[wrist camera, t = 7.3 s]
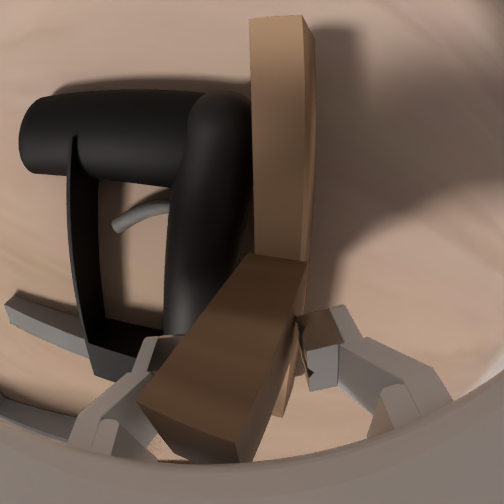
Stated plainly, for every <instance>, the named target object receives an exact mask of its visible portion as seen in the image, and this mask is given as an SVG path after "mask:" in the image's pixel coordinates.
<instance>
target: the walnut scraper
mask: <svg viewBox="0 0 504 504" xmlns="http://www.w3.org/2000/svg"><path fill="white" fill-rule="evenodd" d="M249 31H250V68H251V106H252V147H253V189H254V235H255V254H251V253H247V255H246V256H245V257H244V259H243V260H242V261H241V263H240V264H239V265H238V266H237V268H236V269H235V270H234V272H233V273H232V274H231V276H230V277H229V278H228V279H227V281H226V282H225V283H224V285H223V286H222V287H221V289H220V290H219V291H218V293H217V294H216V295H215V296H214V298H213V299H212V300H211V302H210V303H209V304H208V306H207V307H206V308H205V310H204V311H203V312H202V314H201V315H200V316H199V317H198V319H197V320H196V321H195V323H194V324H193V325H192V327H191V328H190V329H189V331H188V332H187V333H186V334H185V336H184V337H183V338H182V340H181V341H180V342H179V344H178V345H177V346H176V348H175V349H174V350H173V352H172V353H171V354H170V355H169V357H168V358H167V359H166V361H165V362H164V363H163V365H162V366H161V367H160V369H159V370H158V371H157V373H156V374H155V375H154V377H153V378H152V379H151V380H150V382H149V383H148V384H147V386H146V387H145V388H144V390H143V391H142V392H141V394H140V395H139V396H138V398H137V399H136V400H135V401H136V402H137V404H138V405H139V407H140V408H141V410H142V411H143V413H144V414H145V416H146V417H147V418H148V420H149V421H150V423H151V424H152V425H153V427H154V428H155V429H156V431H157V432H158V433H159V435H160V436H161V437H162V439H163V440H164V441H165V442H166V444H167V445H168V446H169V447H170V449H171V450H172V451H173V452H174V453H175V454H177V455H179V456H181V457H184V458H186V459H188V460H191V461H193V462H195V463H198V464H230V463H246V462H252V461H253V458H254V456H255V454H256V451H257V449H258V447H259V444H260V442H261V439H262V437H263V434H264V432H265V429H266V427H267V424H268V422H269V419H270V417H271V415H273V416H277V417H281V418H283V415H284V412H285V409H286V406H287V403H288V400H289V397H290V394H291V391H292V388H293V384H294V378H295V372H296V365H297V359H298V352H299V341H298V336H299V333H298V329H297V325H296V316H297V315H302V314H304V306H305V297H306V288H307V278H308V267H309V256H310V244H311V231H312V217H313V200H314V180H315V151H316V73H315V46H314V37H313V35H312V33H311V31H310V29H309V28H308V26H307V24H306V22H305V20H304V18H303V16H302V15H290V16H274V17H264V18H255V19H249Z"/></svg>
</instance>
